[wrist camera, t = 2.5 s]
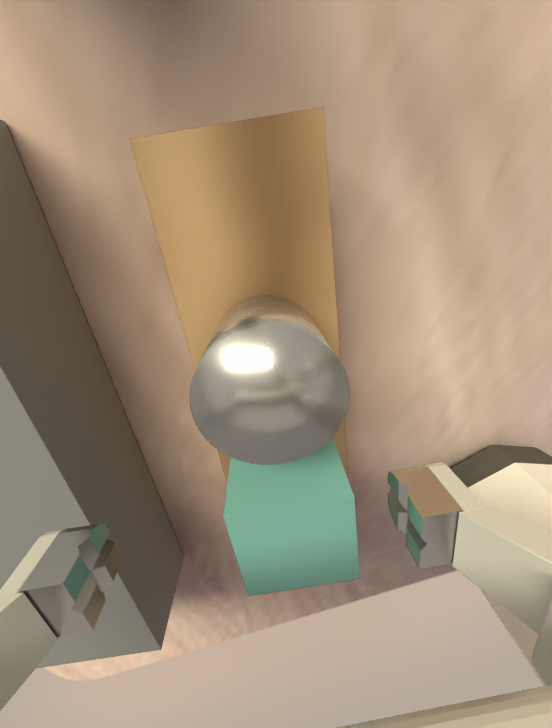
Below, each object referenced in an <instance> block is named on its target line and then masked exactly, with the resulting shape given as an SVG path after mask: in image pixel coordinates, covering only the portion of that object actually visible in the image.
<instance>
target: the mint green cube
mask: <svg viewBox="0 0 552 728" xmlns="http://www.w3.org/2000/svg"><path fill="white" fill-rule="evenodd" d="M223 519H224V522H225V525H226V528H227V531H228V534H229V537H230V540H231V544H232V547H233V550H234V553H235V556H236V559H237V562H238V565H239V568H240V571H241V575H242V578H243V581H244V584H245V587H246V590H247V593H248V596H253V595H260V594H266V593H272V592H279V591H285V590H291V589H298V588H304V587H310V586H317V585H323V584H329V583H336V582H342V581H348V580H355V579H360V574H359V559H358V544H357V529H356V514H355V499H354V494H353V492H352V489H351V486H350V484H349V481H348V478H347V476H346V473H345V470H344V468H343V465H342V462H341V460H340V457H339V454H338V452H337V449H336V446H335V443H334V441H333V438H331V439H330V440H329V441H328V442H327V443H326V444H325V445H323V446H322V447H321V448H320V449H318V450H317V451H315V452H313V453H312V454H310V455H308V456H306V457H304V458H302V459H299V460H296V461H293V462H289V463H284V464H277V465H258V464H251V463H246V462H243V461H239V460H236V459H234V458H232V457H231V460H230V468H229V476H228V483H227V491H226V499H225V507H224V515H223Z"/></svg>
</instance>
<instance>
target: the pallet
mask: <svg viewBox="0 0 552 728" xmlns="http://www.w3.org/2000/svg"><path fill="white" fill-rule="evenodd" d="M130 143H131V146H132V150H133V153H134V157H135V160H136V164H137V167H138V171H139V175H140V178H141V182H142V185H143V189H144V192H145V196H146V199H147V203H148V206H149V210H150V213H151V217H152V220H153V224H154V227H155V231H156V234H157V238H158V242H159V245H160V249H161V252H162V256H163V259H164V263H165V266H166V270H167V273H168V277H169V280H170V284H171V287H172V291H173V294H174V298H175V301H176V305H177V309H178V312H179V316H180V319H181V323H182V326H183V330H184V333H185V337H186V340H187V344H188V347H189V351H190V354H191V358H192V361H193V365H194V368H195V371H196V368H197V366H198V364H199V362H200V360H201V358H202V356H203V354H204V352H205V350H206V348H207V346H208V344H209V341H210V339H211V337H212V335H213V333H214V331H215V329H216V327H217V325H218V323H219V321H220V319H221V318H222V317H223V315H224V314H225V313H226V312H227V311H228V310H229V309H230V308H231V307H232V306H234V305H235V304H237V303H238V302H240V301H242V300H244V299H247V298H249V297H253V296H259V295H274V296H279V297H283V298H286V299H288V300H291V301H293V302H294V303H296V304H297V305H299V306H300V307H301V308H303V309H304V310H305V311H306V313H307V314H308V315H309V316H310V318H311V319H312V321H313V322H314V323H315V325H316V326H317V328H318V329H319V331H320V332H321V334H322V335H323V337H324V338H325V340H326V341H327V343H328V344H329V346H330V347H331V349H332V350H333V352H334V353H335V355H336V356H337V358H338V359H339V361H340V352H339V337H338V322H337V307H336V292H335V277H334V261H333V246H332V231H331V216H330V201H329V186H328V171H327V156H326V141H325V126H324V111H323V107H320V108H314V109H308V110H302V111H296V112H290V113H284V114H278V115H272V116H266V117H260V118H254V119H247V120H241V121H235V122H229V123H223V124H217V125H211V126H205V127H199V128H193V129H187V130H181V131H174V132H168V133H162V134H156V135H150V136H144V137H138V138H132V139H130ZM332 438H333V441H334V443H335V446H336V449H337V452H338V454H339V457H340V460H341V462H342V465H343V468H344V470H345V473H346V476H347V478H348V473H347V458H346V443H345V428H344V419H343V422H342V424H341V425H340V427H339V429H338V430H337V432H336V433H335V434H334V435H333V437H332ZM217 450H218V449H217ZM218 453H219V457H220V460H221V464H222V467H223V471H224V474H225V478H226V481H227V483H228V476H229V468H230V460H231V457H229V456H227V455H226V454H224V453H222V452H220V451H219V450H218Z"/></svg>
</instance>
